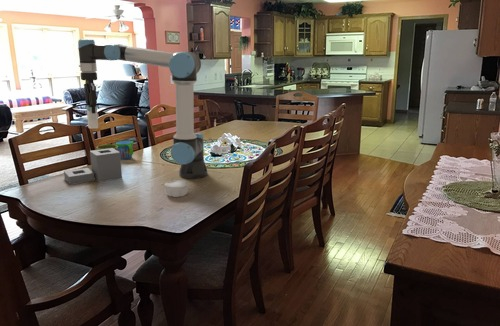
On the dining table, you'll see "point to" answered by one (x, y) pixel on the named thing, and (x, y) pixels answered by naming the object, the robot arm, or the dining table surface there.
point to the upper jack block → (106, 164)
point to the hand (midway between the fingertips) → (92, 118)
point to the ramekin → (176, 188)
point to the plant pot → (107, 147)
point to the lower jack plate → (79, 175)
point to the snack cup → (125, 149)
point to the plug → (91, 123)
